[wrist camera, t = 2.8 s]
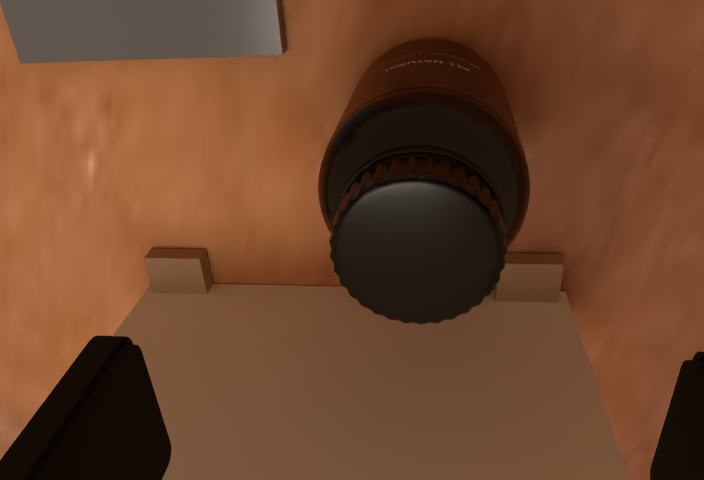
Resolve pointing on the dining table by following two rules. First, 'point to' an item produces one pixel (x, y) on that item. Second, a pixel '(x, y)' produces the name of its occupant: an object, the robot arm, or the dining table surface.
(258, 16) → the pad
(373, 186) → the supplement bottle
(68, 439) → the robot arm
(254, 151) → the dining table surface
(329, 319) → the screen
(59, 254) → the dining table surface
